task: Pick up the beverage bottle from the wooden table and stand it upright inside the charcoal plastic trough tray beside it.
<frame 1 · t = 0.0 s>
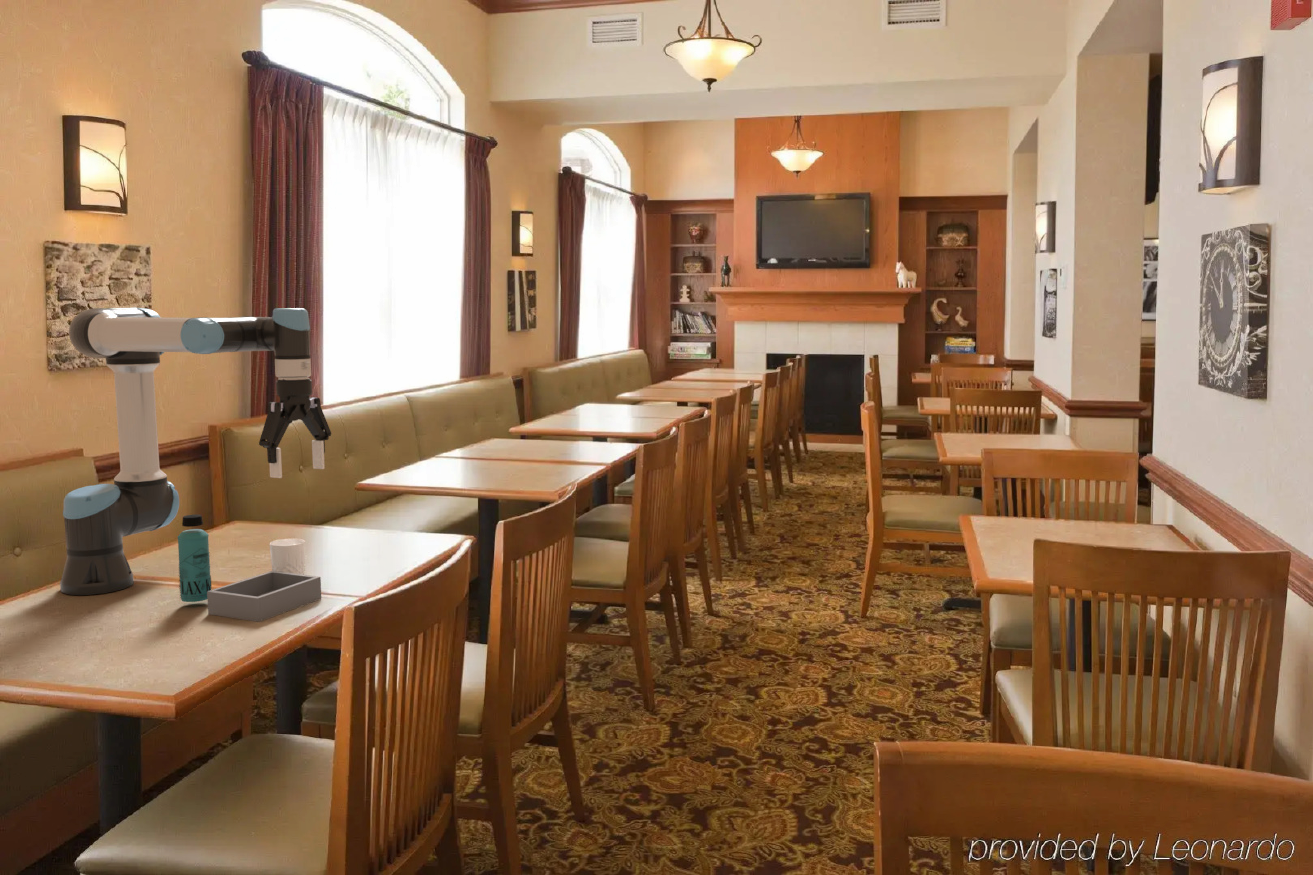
hand: (298, 473, 238), 28 cm above the table, fingers open, 13 cm apart
white cup: (289, 584, 251), on the table
trough tray: (266, 606, 232), on the table
beverage bottle: (196, 605, 234), on the table
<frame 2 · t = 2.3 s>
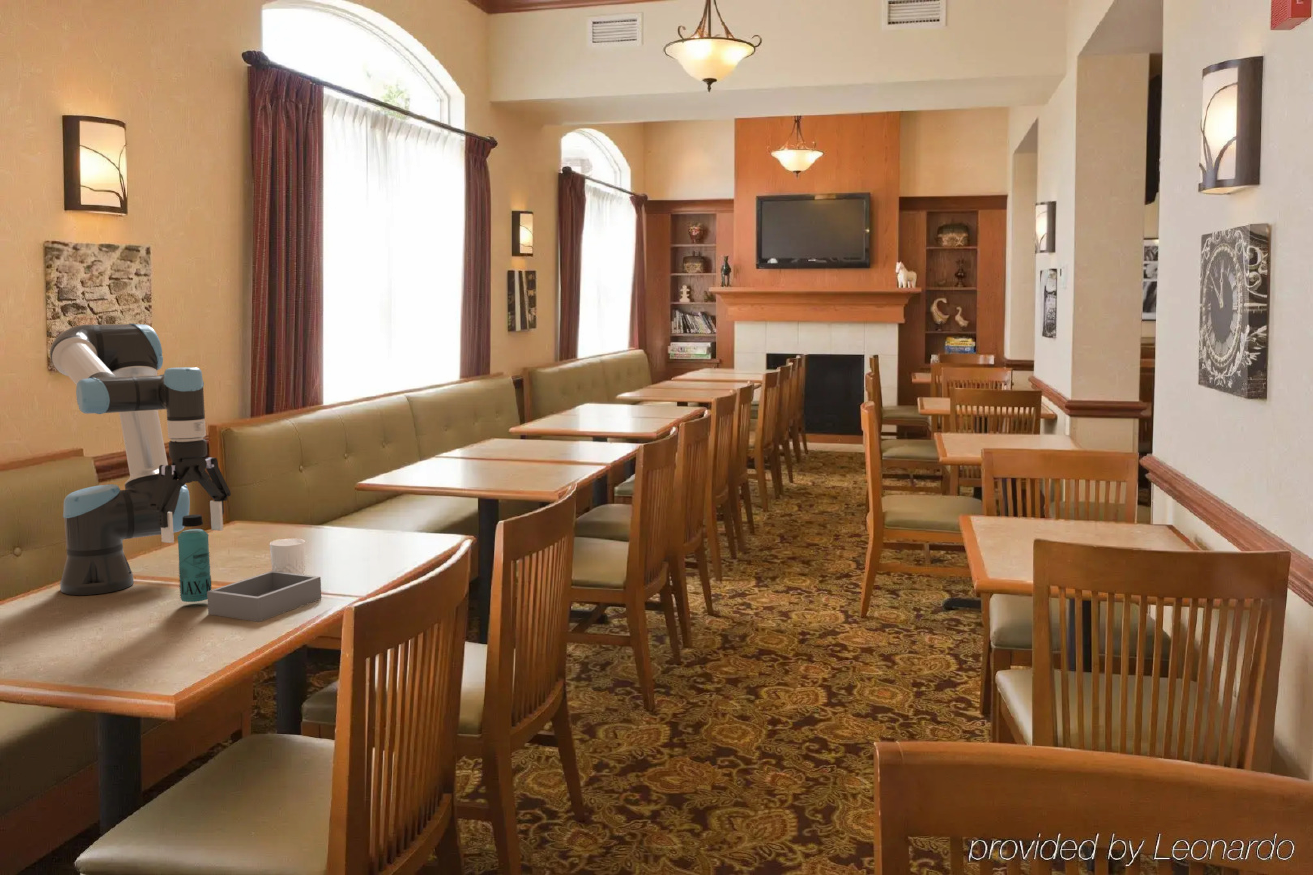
hand: (193, 536, 231), 15 cm above the table, fingers open, 13 cm apart
nothing on the table moved.
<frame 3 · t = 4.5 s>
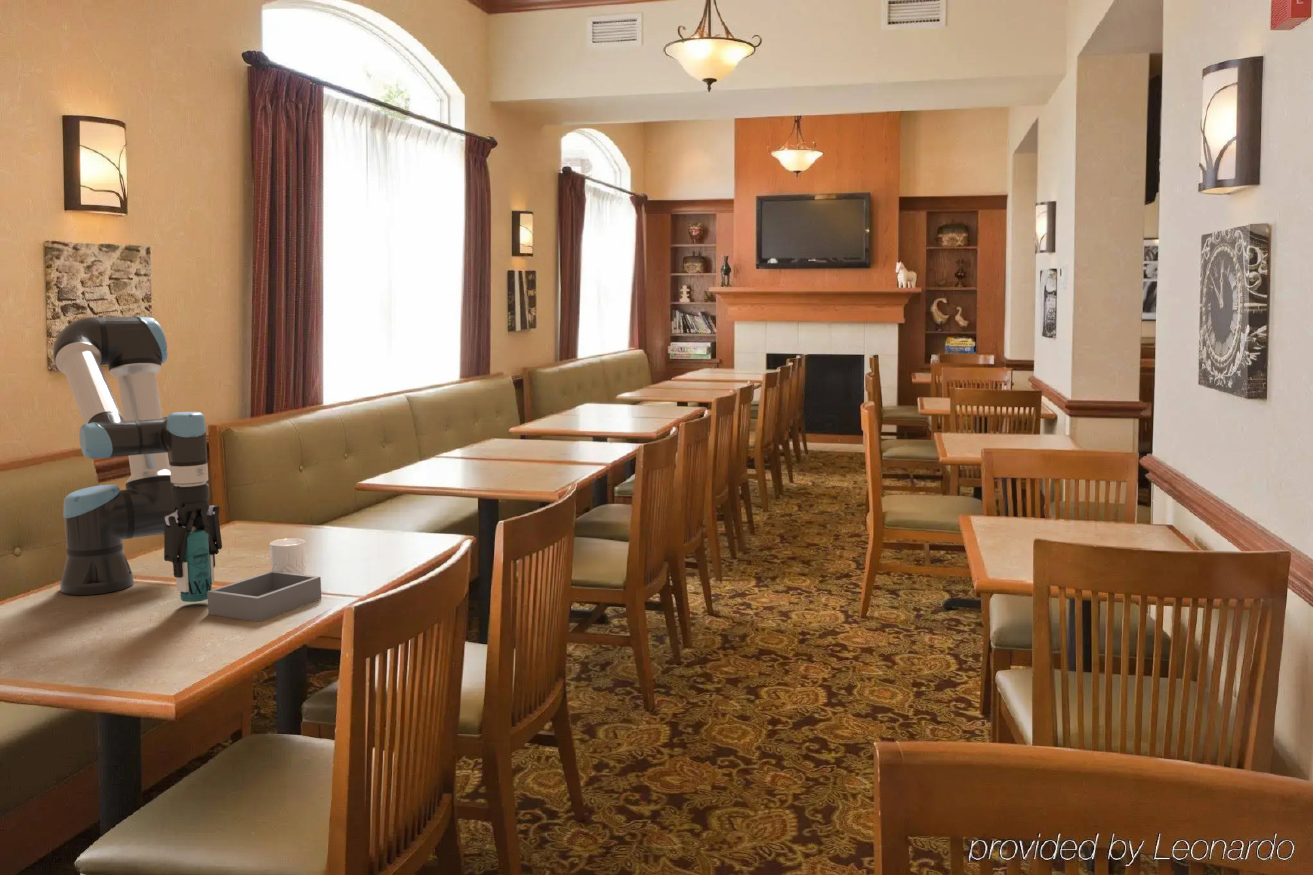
hand: (195, 587, 233), 4 cm above the table, fingers closed on beverage bottle, 6 cm apart
beverage bottle: (196, 605, 233), on the table, touching gripper
everything else where it was.
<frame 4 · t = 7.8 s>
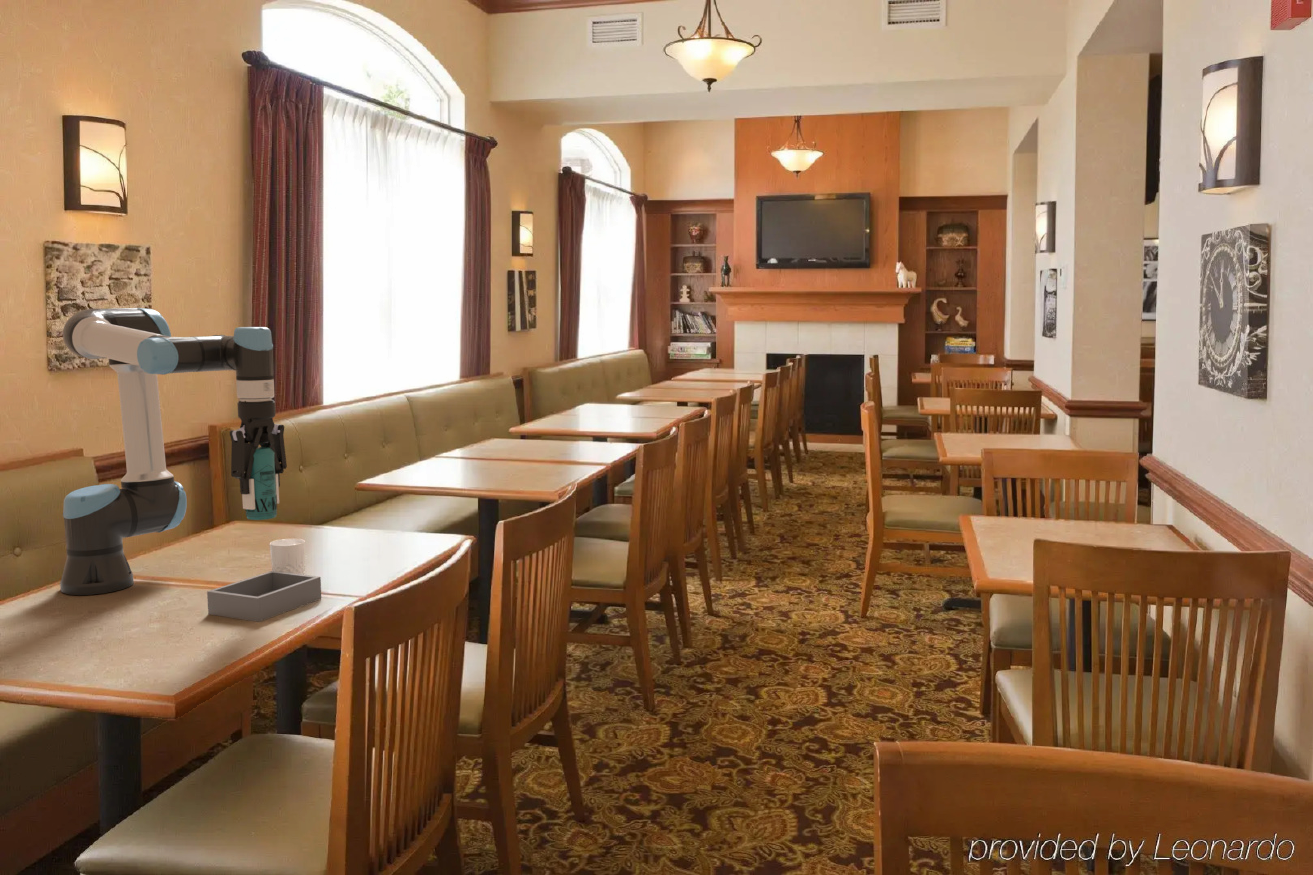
hand: (261, 505, 229), 22 cm above the table, fingers closed on beverage bottle, 6 cm apart
beverage bottle: (262, 524, 230), point 18 cm above the table, touching gripper
everything else where it was.
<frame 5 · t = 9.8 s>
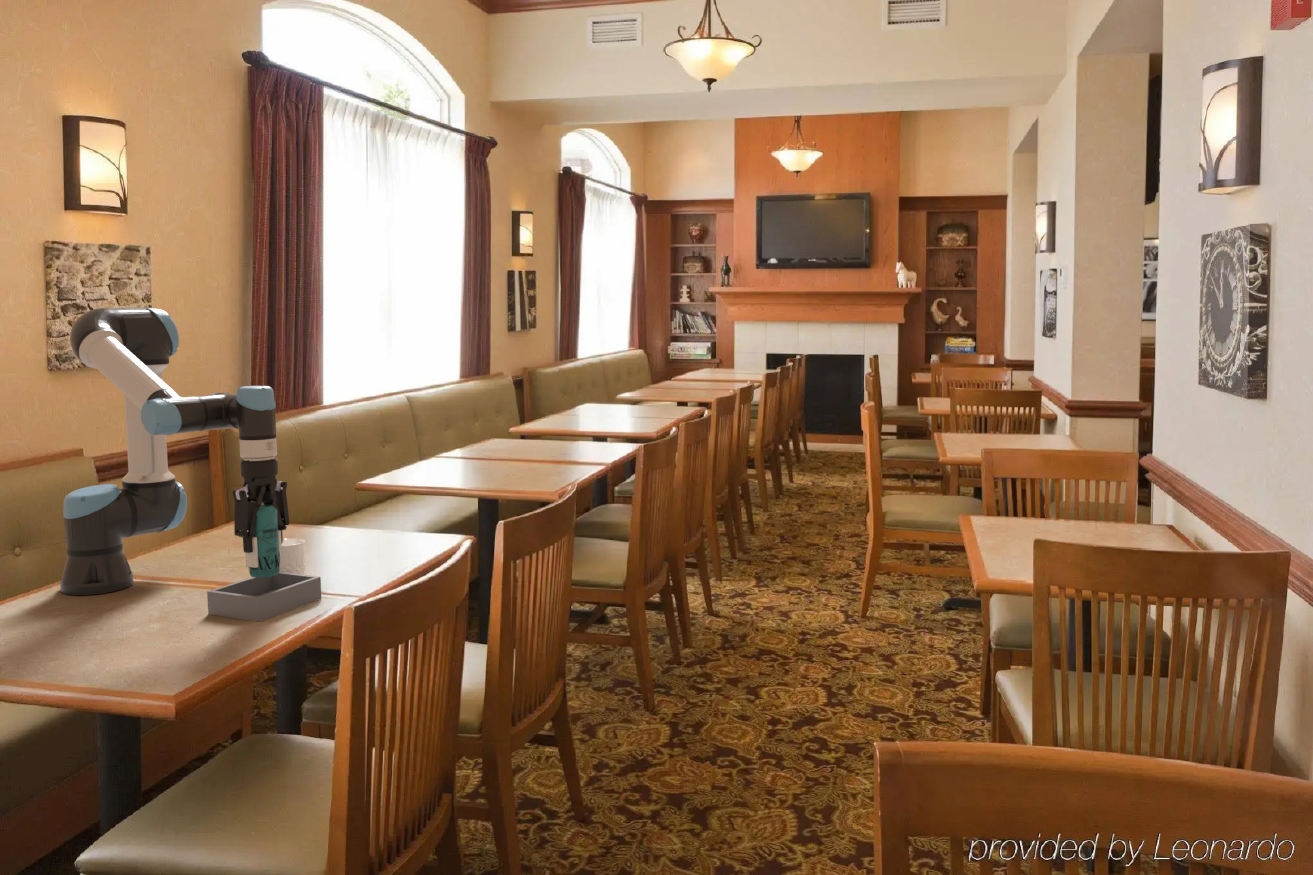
hand: (264, 562, 231), 10 cm above the table, fingers closed on beverage bottle, 6 cm apart
beverage bottle: (265, 581, 231), point 6 cm above the table, touching gripper
everything else where it was.
when the fingers open (6 cm above the table, at t = 11.3 s): beverage bottle drops 1 cm, resting on trough tray.
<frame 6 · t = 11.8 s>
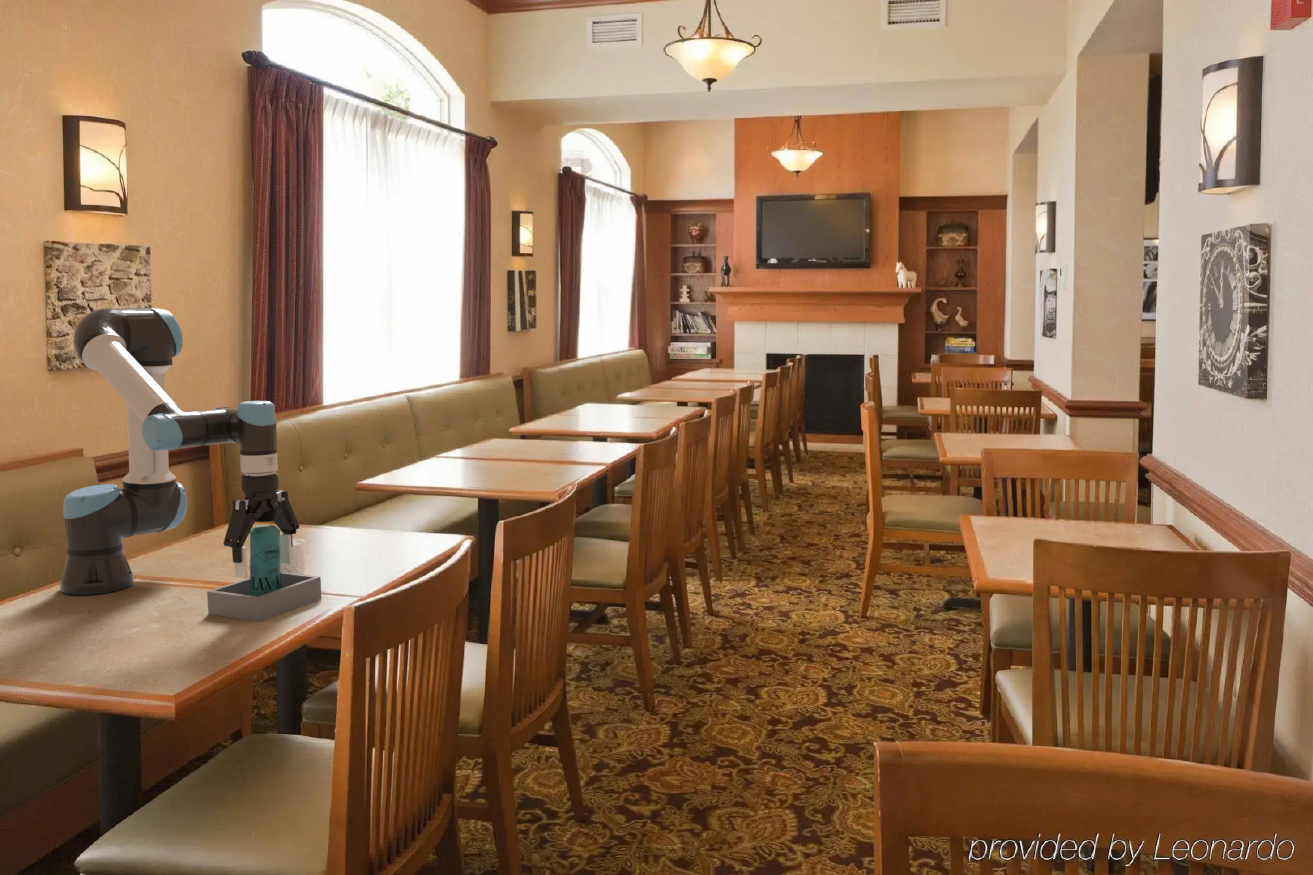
hand: (264, 570, 231), 8 cm above the table, fingers open, 13 cm apart
beverage bottle: (266, 602, 232), point 1 cm above the table, touching trough tray
everything else where it was.
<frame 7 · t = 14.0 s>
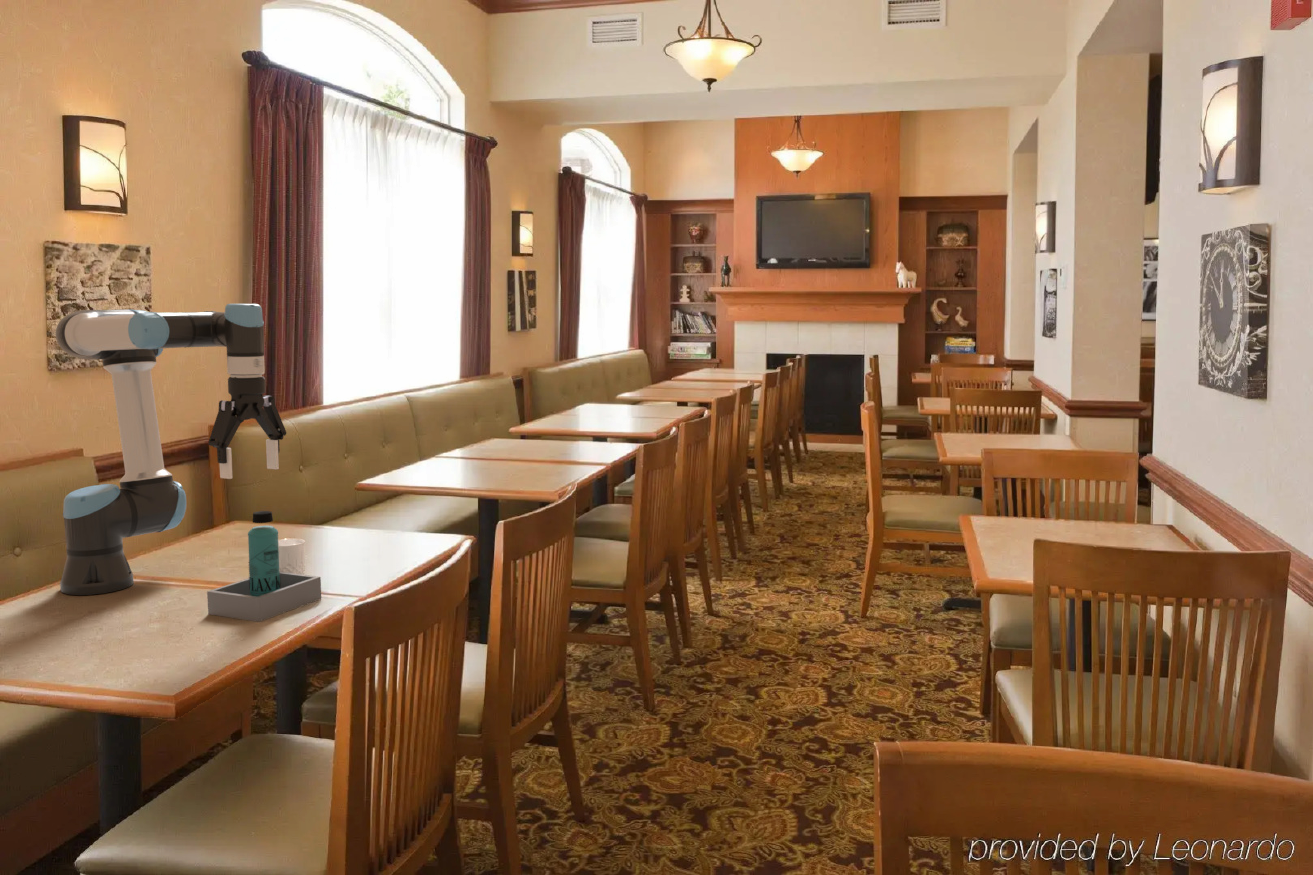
hand: (250, 473, 231), 29 cm above the table, fingers open, 13 cm apart
nothing on the table moved.
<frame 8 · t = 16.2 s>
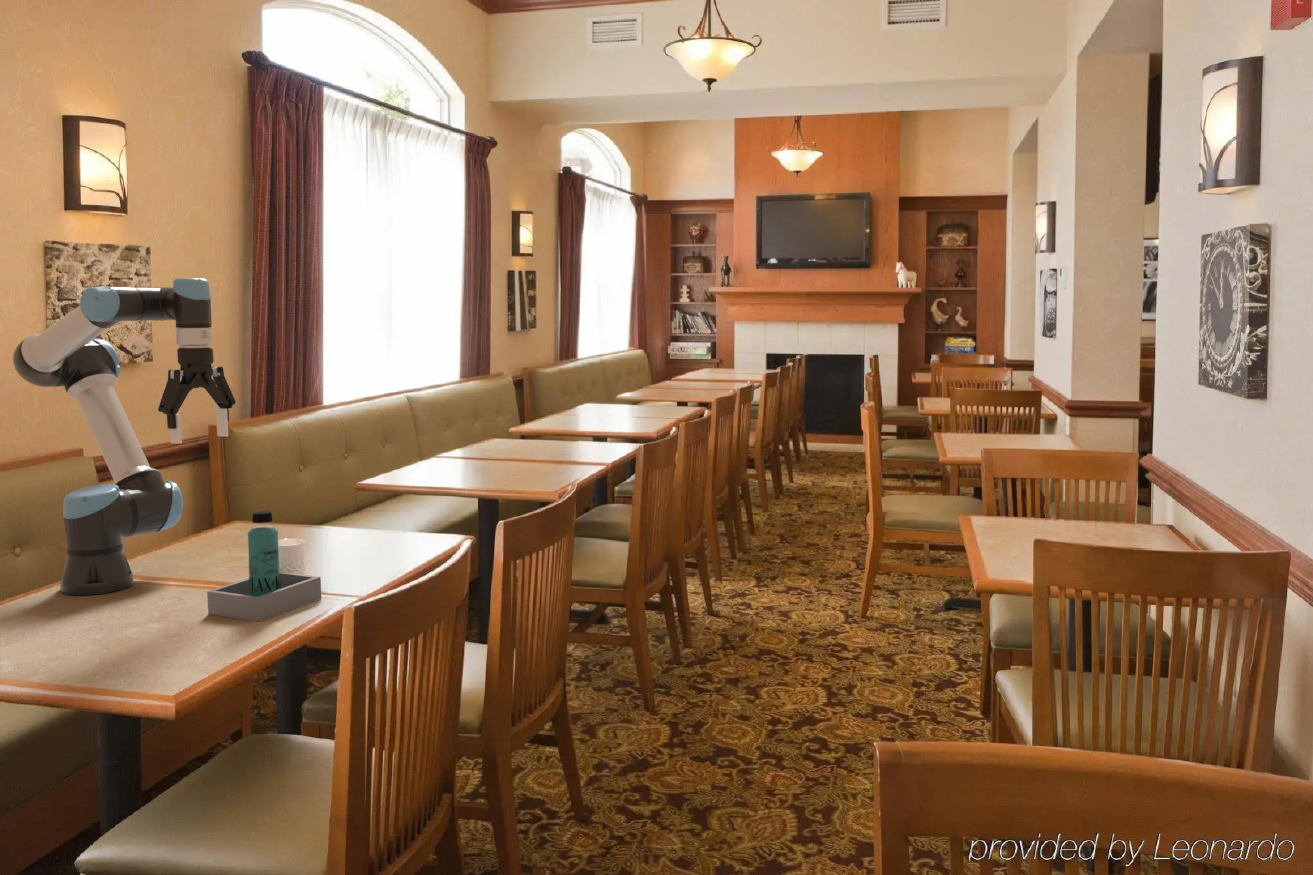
hand: (200, 439, 244), 35 cm above the table, fingers open, 13 cm apart
nothing on the table moved.
at the end: beverage bottle inside the target area on the trough tray (0.0 cm from its centre), point 0.8 cm above the trough tray's base; beverage bottle tilted 0°; the gripper is holding nothing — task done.
